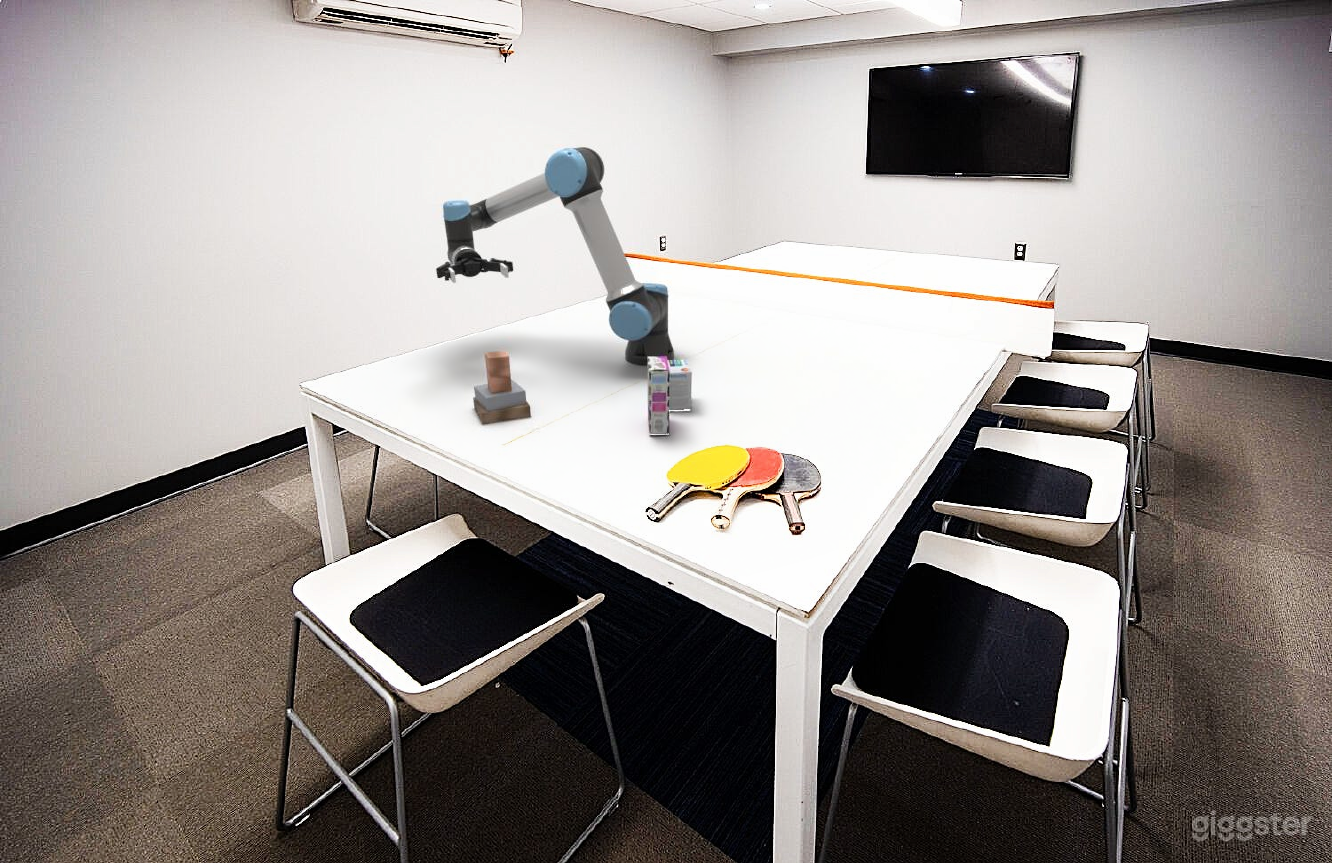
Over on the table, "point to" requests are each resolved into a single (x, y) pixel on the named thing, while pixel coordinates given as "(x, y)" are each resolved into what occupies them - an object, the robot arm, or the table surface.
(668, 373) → the candy bar box
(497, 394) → the slate slab
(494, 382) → the terracotta block
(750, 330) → the table surface
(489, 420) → the walnut slab
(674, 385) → the light bulb box
